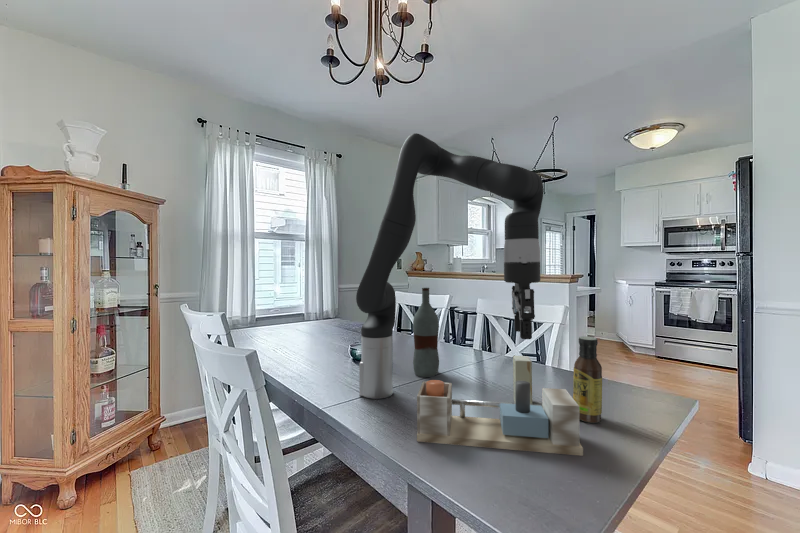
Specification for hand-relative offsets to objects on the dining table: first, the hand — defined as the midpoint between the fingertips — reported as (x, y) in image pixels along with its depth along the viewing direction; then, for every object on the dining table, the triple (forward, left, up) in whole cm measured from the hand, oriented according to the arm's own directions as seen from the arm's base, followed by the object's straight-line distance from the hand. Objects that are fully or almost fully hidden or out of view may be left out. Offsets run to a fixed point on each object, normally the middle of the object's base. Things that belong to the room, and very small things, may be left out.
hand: (522, 335), depth 78 cm
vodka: (-26, +43, -23) cm, 55 cm away
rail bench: (-6, 0, -22) cm, 23 cm away
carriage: (0, 0, -20) cm, 20 cm away
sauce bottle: (+17, +13, -23) cm, 31 cm away
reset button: (-19, 0, -15) cm, 25 cm away
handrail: (-5, +5, -21) cm, 22 cm away
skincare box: (+3, +21, -23) cm, 31 cm away
